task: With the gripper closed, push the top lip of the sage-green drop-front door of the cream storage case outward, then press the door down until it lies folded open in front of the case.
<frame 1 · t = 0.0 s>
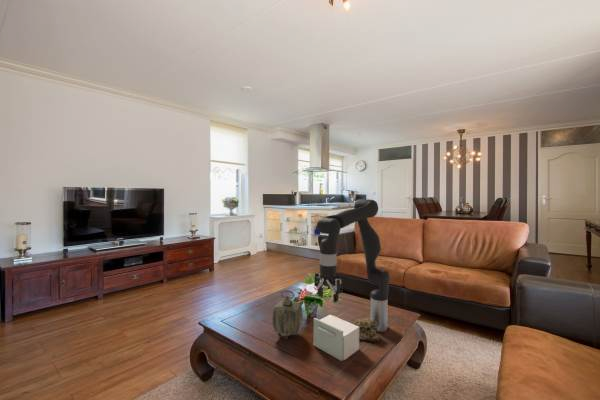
hand: (327, 299, 122), 29 cm above the table, tool pointing down, fingers open, 8 cm apart
door: (326, 338, 129), point 8 cm above the table, hinge at 0.0°
mineral specimen: (363, 338, 145), on the table
case: (336, 348, 135), on the table
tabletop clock: (287, 338, 145), on the table
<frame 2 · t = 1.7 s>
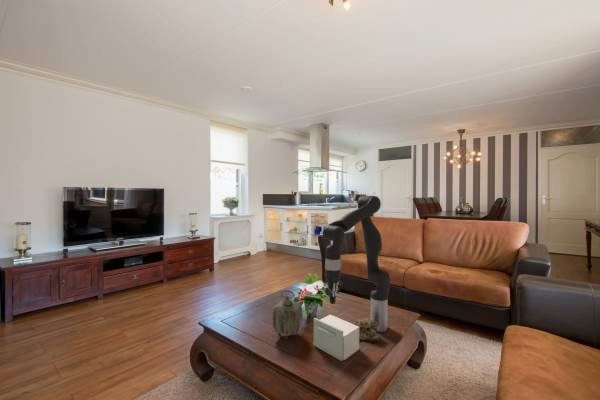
hand: (332, 303, 132), 24 cm above the table, tool pointing down, fingers closed
nothing on the table moved.
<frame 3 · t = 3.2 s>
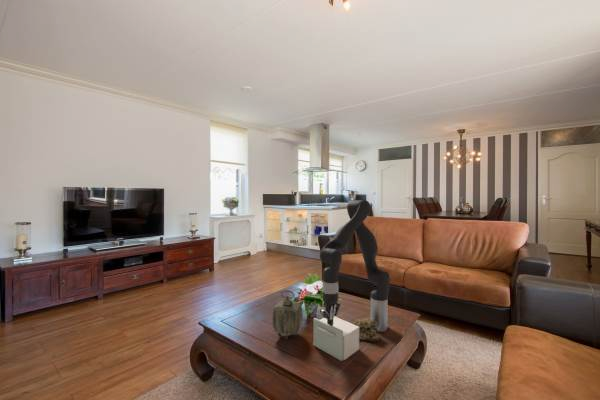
hand: (330, 325, 131), 13 cm above the table, tool pointing down, fingers closed
door: (326, 338, 129), point 8 cm above the table, hinge at 0.4°, touching gripper
everything else where it was.
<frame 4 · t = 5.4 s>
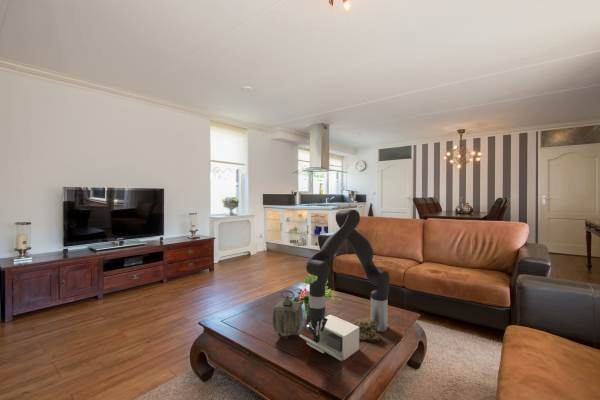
hand: (316, 341, 124), 9 cm above the table, tool pointing down, fingers closed
door: (319, 348, 126), point 5 cm above the table, hinge at 48.9°, touching gripper
everything else where it was.
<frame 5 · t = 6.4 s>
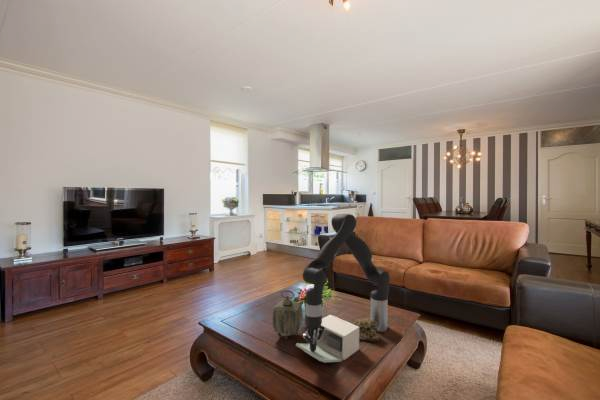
hand: (313, 350, 123), 6 cm above the table, tool pointing down, fingers closed
door: (318, 353, 126), point 3 cm above the table, hinge at 67.2°, touching gripper
everything else where it was.
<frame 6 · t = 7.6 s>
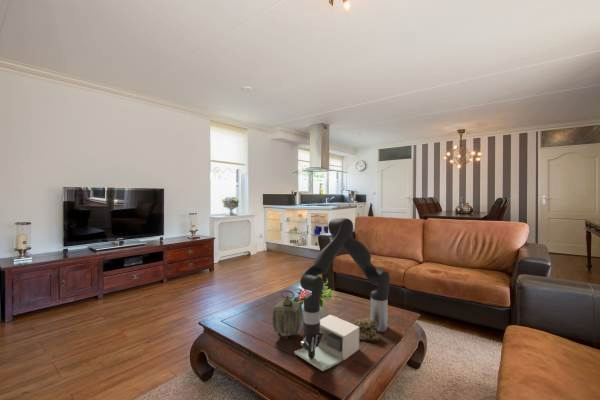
hand: (311, 357, 122), 3 cm above the table, tool pointing down, fingers closed
door: (317, 357, 125), point 1 cm above the table, hinge at 82.0°
everything else where it was.
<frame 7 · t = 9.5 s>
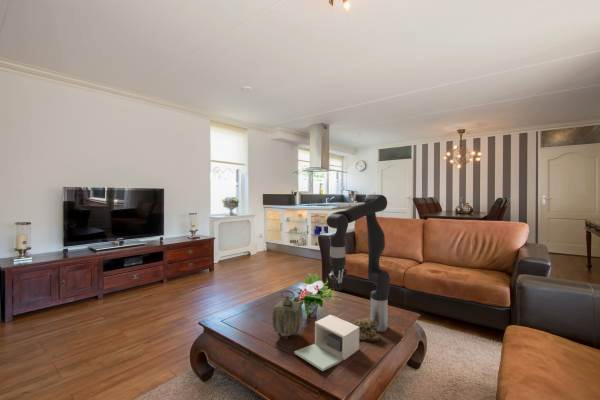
hand: (338, 290, 134), 29 cm above the table, tool pointing down, fingers closed
nothing on the table moved.
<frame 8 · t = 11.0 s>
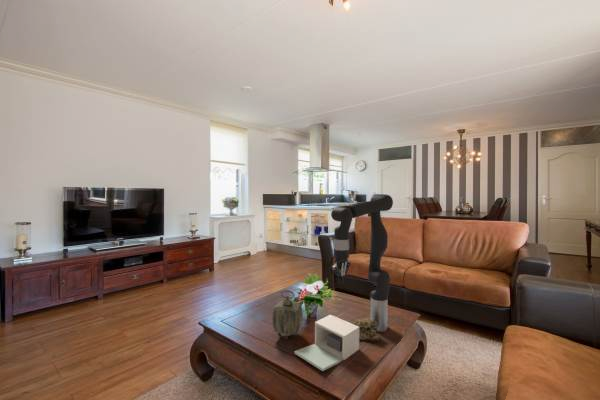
hand: (340, 282, 136), 32 cm above the table, tool pointing down, fingers closed
nothing on the table moved.
at the end: door at +82° (first picture: +0°) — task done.
